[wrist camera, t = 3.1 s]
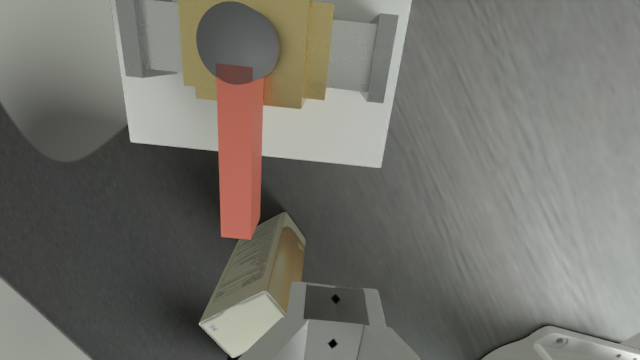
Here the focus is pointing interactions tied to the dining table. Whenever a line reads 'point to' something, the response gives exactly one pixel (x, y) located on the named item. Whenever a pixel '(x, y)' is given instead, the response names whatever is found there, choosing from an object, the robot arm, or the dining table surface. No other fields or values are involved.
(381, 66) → the valve
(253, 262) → the skincare box
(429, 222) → the dining table surface
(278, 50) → the lever
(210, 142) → the board
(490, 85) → the dining table surface
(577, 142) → the dining table surface
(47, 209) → the dining table surface
